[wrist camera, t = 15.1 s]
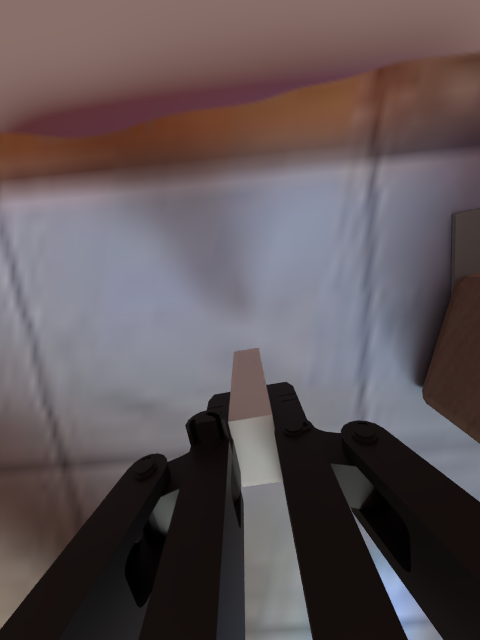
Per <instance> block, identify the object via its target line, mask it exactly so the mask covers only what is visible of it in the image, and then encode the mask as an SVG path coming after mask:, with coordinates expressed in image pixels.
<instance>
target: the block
mask: <svg viewBox="0 0 480 640" xmlns="http://www.w3.org/2000/svg"><path fill="white" fill-rule="evenodd" d="M422 393H423V399H424V400H425V402H426V403H427V404H428V405H429V406H431V407H432V408H433V409H435V410H436V411H437V412H439V413H440V414H441V415H443V416H444V417H445V418H447V419H448V420H449V421H451V422H452V423H453V424H455V425H456V426H457V427H458V428H460V429H461V430H462V431H464V432H465V433H466V434H468V435H469V436H470V437H472V438H473V439H474V440H476V441H477V442H478V443H480V273H476V274H472V275H469V276H465V277H461V278H460V279H459V280H458V281H457V283H456V284H455V285H454V288H453V291H452V295H451V298H450V301H449V304H448V308H447V311H446V314H445V317H444V321H443V324H442V327H441V330H440V334H439V337H438V340H437V343H436V347H435V350H434V353H433V357H432V360H431V363H430V366H429V370H428V373H427V376H426V379H425V383H424V386H423V389H422Z"/></svg>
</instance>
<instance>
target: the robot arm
mask: <svg viewBox="0 0 480 640" xmlns="http://www.w3.org/2000/svg"><path fill="white" fill-rule="evenodd" d="M185 426H186V430H187V433H188V437H189V441H190V444H191V448H190V452H188V453H187V454H185V455H183V456H181V457H179V458H176V459H174V460H171V461H169V462H167V459H166V457H165V456H164V455H162V454H158V453H157V454H150V455H147V456H145V457H142V458H141V459H139V460H138V461H136V462H135V463H134V464H133V465H132V466H131V467H130V468H129V469H128V470H127V471H126V472H125V474H124V475H123V476H122V477H121V479H120V480H119V481H118V482H117V484H116V485H115V486H114V487H113V489H112V490H111V491H110V492H109V494H108V495H107V496H106V498H105V499H104V500H103V501H102V503H101V504H100V505H99V506H98V508H97V509H96V510H95V511H94V513H93V514H92V515H91V516H90V518H89V519H88V520H87V521H86V523H85V524H84V525H83V526H82V528H81V529H80V530H79V531H78V533H77V534H76V535H75V536H74V538H73V539H72V540H71V541H70V543H69V544H68V545H67V546H66V548H65V549H64V550H63V552H62V553H61V554H60V555H59V557H58V558H57V559H56V560H55V562H54V563H53V564H52V565H51V567H50V568H49V569H48V570H47V572H46V573H45V574H44V575H43V577H42V578H41V579H40V580H39V582H38V583H37V584H36V585H35V587H34V588H33V589H32V590H31V592H30V593H29V594H28V595H27V597H26V598H25V599H24V600H23V602H22V603H21V604H20V605H19V607H18V608H17V609H16V611H15V612H14V613H13V614H12V616H11V617H10V618H9V619H8V621H7V622H6V623H5V624H4V626H3V627H2V628H1V629H0V640H245V592H244V505H243V498H242V493H241V481H242V486H243V487H248V486H254V485H261V484H268V483H275V482H282V481H283V484H284V489H285V495H286V500H287V506H288V512H289V516H290V522H291V527H292V532H293V538H294V543H295V548H296V554H297V559H298V564H299V570H300V575H301V580H302V586H303V591H304V596H305V601H306V607H307V612H308V617H309V623H310V628H311V633H312V639H313V640H408V639H407V637H406V634H405V632H404V630H403V628H402V625H401V623H400V621H399V618H398V616H397V614H396V612H395V609H394V607H393V605H392V603H391V600H390V598H389V596H388V594H387V591H386V589H385V587H384V584H383V582H382V580H381V578H380V575H379V573H378V571H377V569H376V566H375V564H374V562H373V559H372V557H371V555H370V553H369V550H368V548H367V546H366V544H365V541H364V539H363V537H362V535H361V532H360V530H359V528H358V525H357V523H356V521H355V519H354V516H353V514H354V515H355V516H356V518H357V519H358V521H359V522H360V523H361V525H362V526H363V528H364V529H365V530H366V532H367V533H368V535H369V536H370V537H371V539H372V540H373V542H374V543H375V544H376V546H377V547H378V549H379V550H380V551H381V553H382V554H383V556H384V557H385V558H386V560H387V561H388V563H389V564H390V565H391V567H392V568H393V570H394V571H395V572H396V574H397V575H398V577H399V578H400V579H401V581H402V582H403V584H404V585H405V586H406V588H407V589H408V591H409V592H410V593H411V595H412V596H413V598H414V599H415V600H416V602H417V603H418V605H419V606H420V607H421V609H422V610H423V612H424V613H425V614H426V616H427V617H428V619H429V620H430V622H431V623H432V624H433V626H434V627H435V629H436V630H437V631H438V633H439V634H440V636H441V637H442V638H443V640H480V502H479V501H478V500H476V499H475V498H474V497H473V496H471V495H470V494H469V493H467V492H466V491H465V490H463V489H462V488H461V487H460V486H458V485H457V484H456V483H454V482H453V481H452V480H450V479H449V478H448V477H446V476H445V475H444V474H443V473H441V472H440V471H439V470H437V469H436V468H435V467H433V466H432V465H431V464H429V463H428V462H427V461H426V460H424V459H423V458H422V457H420V456H419V455H418V454H416V453H415V452H414V451H413V450H411V449H410V448H409V447H407V446H406V445H405V444H403V443H402V442H401V441H399V440H398V439H397V438H396V437H394V436H393V435H392V434H390V433H389V432H388V431H386V430H385V429H384V428H382V427H380V426H379V425H377V424H375V423H371V422H368V421H352V422H349V423H347V424H345V425H344V426H343V428H342V429H341V433H332V432H325V431H321V430H318V429H316V428H315V427H314V426H313V425H312V423H311V422H310V421H308V420H307V418H306V416H305V413H304V411H303V409H302V406H301V404H300V402H299V399H298V397H297V395H296V392H295V390H294V387H293V386H292V385H290V384H289V383H288V382H282V383H276V384H270V385H266V382H265V377H264V372H263V367H262V362H261V357H260V352H259V348H254V349H248V350H242V351H237V352H234V357H233V369H232V381H231V392H227V393H221V394H215V395H214V396H213V397H212V398H211V399H210V400H209V402H208V407H207V410H206V411H203V412H200V413H198V414H196V415H194V416H193V417H192V418H190V419H189V420H188V422H187V423H186V425H185ZM350 508H351V510H352V512H353V514H352V512H351V510H350Z"/></svg>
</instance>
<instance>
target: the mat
mask: <svg viewBox="0 0 480 640" xmlns="http://www.w3.org/2000/svg"><path fill="white" fill-rule="evenodd" d="M476 273H480V209H476V210H471V211H465V212H460V213H455V214H452V264H451V295H452V291H453V288H454V285H455V284H456V283H457V281H458V280H459V279H460V278H461V277H465V276H469V275H472V274H476Z"/></svg>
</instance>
